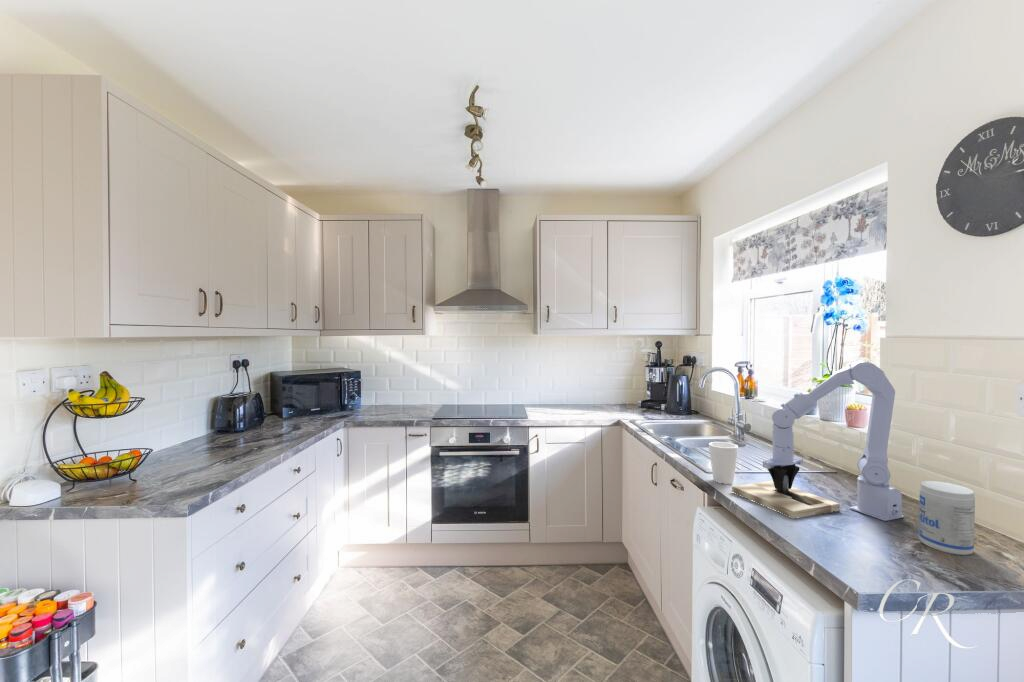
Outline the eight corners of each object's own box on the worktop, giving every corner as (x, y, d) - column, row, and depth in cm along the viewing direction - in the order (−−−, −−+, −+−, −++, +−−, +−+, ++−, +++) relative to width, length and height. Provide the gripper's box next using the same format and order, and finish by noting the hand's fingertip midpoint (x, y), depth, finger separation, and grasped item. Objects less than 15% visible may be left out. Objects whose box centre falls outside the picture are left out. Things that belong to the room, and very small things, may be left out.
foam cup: (735, 487, 149) (735, 449, 149) (706, 482, 154) (706, 445, 154) (740, 480, 156) (740, 444, 156) (712, 475, 162) (712, 440, 162)
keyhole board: (839, 510, 128) (839, 503, 128) (793, 518, 123) (793, 511, 123) (773, 486, 149) (773, 480, 149) (732, 492, 144) (732, 486, 144)
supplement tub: (908, 538, 110) (908, 480, 110) (942, 536, 111) (942, 479, 111) (950, 557, 101) (950, 494, 101) (986, 555, 102) (986, 492, 102)
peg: (796, 499, 137) (796, 475, 137) (784, 501, 135) (784, 477, 135) (780, 493, 142) (780, 470, 142) (769, 495, 140) (769, 472, 140)
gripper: (788, 441, 145) (788, 482, 145) (754, 444, 140) (754, 487, 140) (809, 446, 138) (809, 489, 138) (773, 450, 134) (773, 494, 134)
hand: (783, 488), depth 139 cm, fingers closed on peg, 3 cm apart
